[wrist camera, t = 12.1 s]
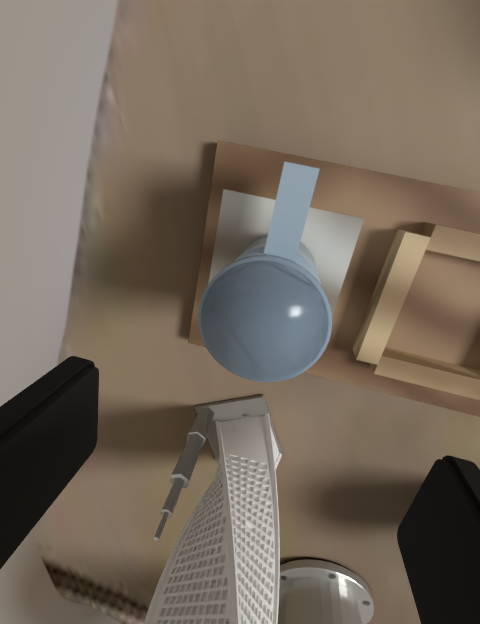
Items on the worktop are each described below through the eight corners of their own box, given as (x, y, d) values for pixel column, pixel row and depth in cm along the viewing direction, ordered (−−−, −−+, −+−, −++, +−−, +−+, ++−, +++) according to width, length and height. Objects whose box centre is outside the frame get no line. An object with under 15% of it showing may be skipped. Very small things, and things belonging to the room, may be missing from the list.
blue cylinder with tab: (306, 321, 25) (310, 396, 16) (228, 302, 26) (189, 363, 17) (346, 185, 21) (383, 179, 12) (255, 166, 22) (224, 147, 13)
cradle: (491, 392, 25) (504, 406, 24) (349, 357, 26) (352, 368, 24) (574, 253, 21) (598, 258, 19) (401, 217, 22) (410, 219, 20)
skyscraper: (277, 391, 30) (160, 1673, 4) (299, 458, 32) (308, 1530, 7) (195, 405, 32) (-221, 1306, 6) (221, 467, 34) (-3, 1301, 9)
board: (486, 410, 27) (496, 422, 26) (192, 336, 29) (187, 344, 28) (604, 218, 21) (625, 221, 20) (221, 142, 23) (216, 139, 22)
